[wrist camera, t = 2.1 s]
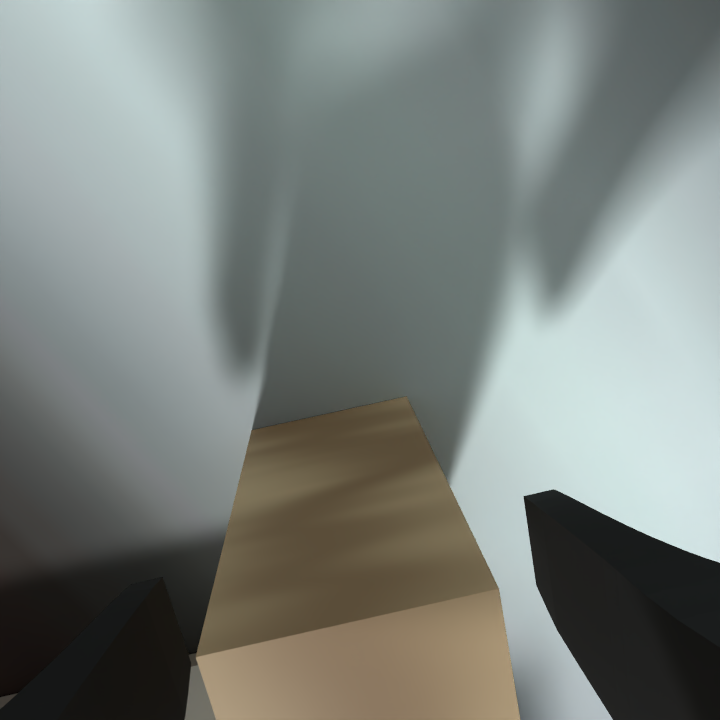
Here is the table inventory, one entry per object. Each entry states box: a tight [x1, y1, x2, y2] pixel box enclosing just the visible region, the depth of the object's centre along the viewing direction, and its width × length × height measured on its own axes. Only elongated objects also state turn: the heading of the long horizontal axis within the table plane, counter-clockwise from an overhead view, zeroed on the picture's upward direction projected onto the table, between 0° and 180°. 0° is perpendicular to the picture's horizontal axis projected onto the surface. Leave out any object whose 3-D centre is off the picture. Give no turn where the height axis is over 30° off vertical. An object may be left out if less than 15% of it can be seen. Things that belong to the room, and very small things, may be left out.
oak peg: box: [196, 396, 520, 720], centre depth 12 cm, size 4×4×8 cm
